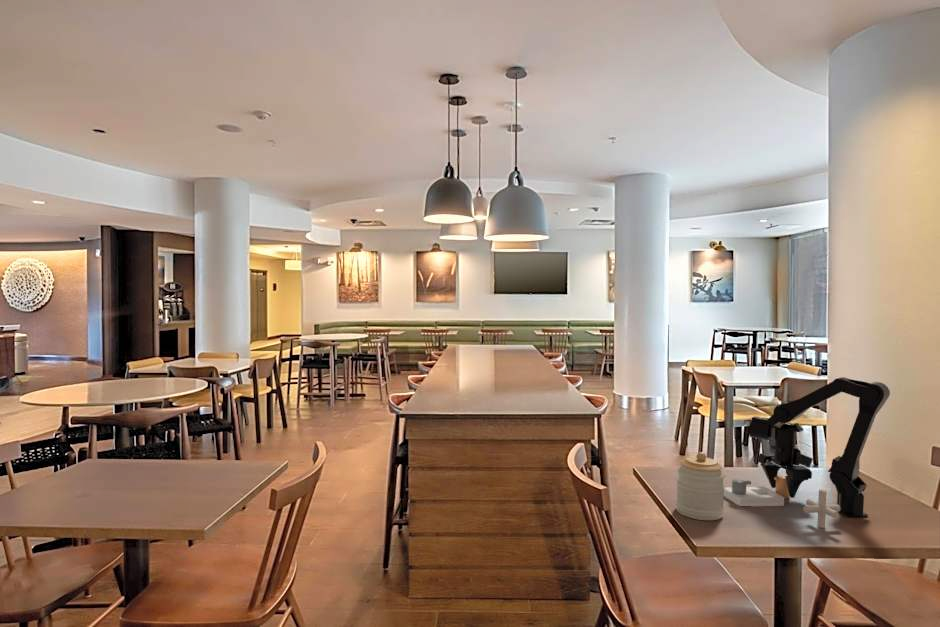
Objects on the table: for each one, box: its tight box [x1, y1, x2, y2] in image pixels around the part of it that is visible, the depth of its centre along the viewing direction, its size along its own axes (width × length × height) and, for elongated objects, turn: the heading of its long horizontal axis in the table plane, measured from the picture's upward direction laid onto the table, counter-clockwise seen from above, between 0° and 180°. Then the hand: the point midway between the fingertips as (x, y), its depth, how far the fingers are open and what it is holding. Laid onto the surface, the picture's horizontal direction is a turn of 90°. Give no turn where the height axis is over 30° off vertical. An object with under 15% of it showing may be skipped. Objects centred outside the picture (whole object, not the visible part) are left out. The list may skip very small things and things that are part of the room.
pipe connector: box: [802, 489, 840, 529], centre depth 165 cm, size 10×10×10 cm
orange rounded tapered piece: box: [774, 475, 791, 500], centre depth 189 cm, size 4×5×6 cm
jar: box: [675, 451, 726, 521], centre depth 173 cm, size 13×13×18 cm
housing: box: [724, 478, 785, 507], centre depth 185 cm, size 10×14×6 cm
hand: (782, 492), depth 189 cm, fingers open, 9 cm apart
